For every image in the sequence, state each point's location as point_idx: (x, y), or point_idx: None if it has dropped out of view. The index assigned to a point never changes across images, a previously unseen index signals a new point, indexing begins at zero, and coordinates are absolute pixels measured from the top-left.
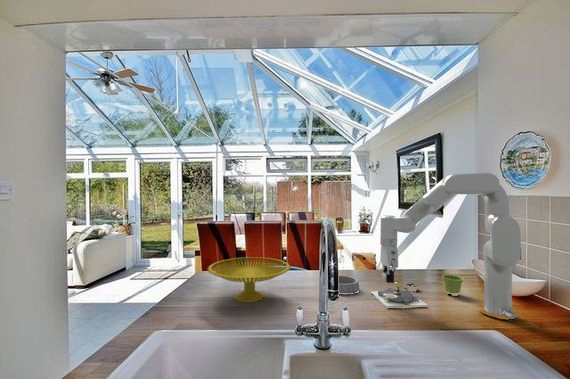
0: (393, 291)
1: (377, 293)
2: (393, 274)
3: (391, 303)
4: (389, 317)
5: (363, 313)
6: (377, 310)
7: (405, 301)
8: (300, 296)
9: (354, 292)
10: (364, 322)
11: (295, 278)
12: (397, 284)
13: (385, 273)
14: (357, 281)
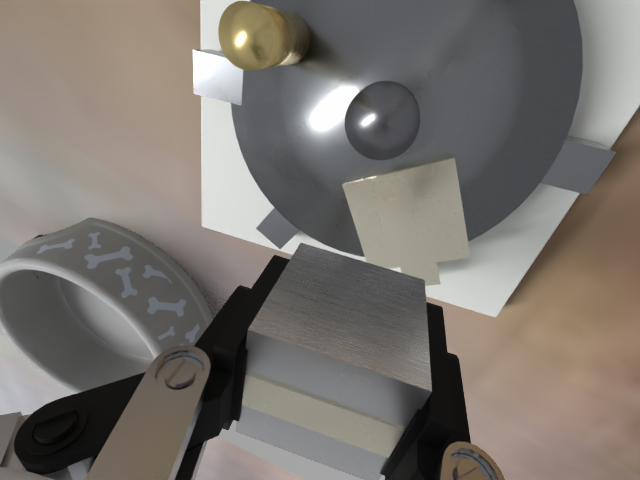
0: (300, 106)
1: (247, 208)
2: (449, 427)
3: (473, 255)
4: (610, 372)
5: (472, 423)
6: (479, 356)
7: (590, 183)
8: (216, 462)
9: (198, 306)
10: (563, 476)
11: (13, 379)
12: (278, 57)
13: (337, 465)
14: (103, 295)
